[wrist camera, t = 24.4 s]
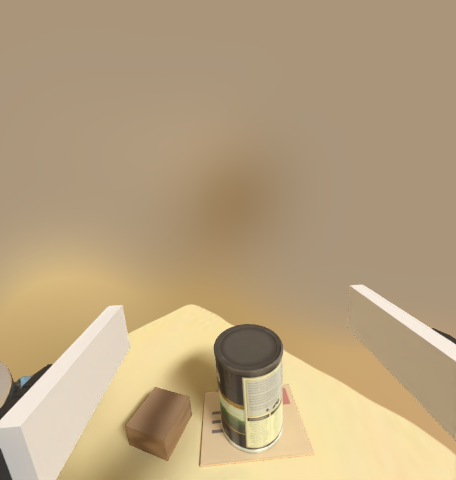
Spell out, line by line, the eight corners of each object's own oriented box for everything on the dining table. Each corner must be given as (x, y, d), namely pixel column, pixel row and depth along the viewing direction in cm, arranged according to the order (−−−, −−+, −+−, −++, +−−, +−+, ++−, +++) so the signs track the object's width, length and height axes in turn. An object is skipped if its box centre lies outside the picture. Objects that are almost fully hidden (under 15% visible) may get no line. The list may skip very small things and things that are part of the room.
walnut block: (129, 445, 34) (125, 425, 33) (158, 404, 41) (155, 386, 40) (167, 462, 32) (164, 440, 31) (191, 416, 38) (189, 397, 37)
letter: (200, 467, 31) (200, 465, 31) (205, 393, 42) (204, 392, 42) (313, 454, 31) (314, 453, 31) (288, 385, 42) (288, 383, 42)
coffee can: (212, 446, 33) (203, 365, 30) (229, 387, 43) (223, 321, 40) (284, 462, 30) (282, 376, 27) (284, 395, 40) (283, 326, 37)
